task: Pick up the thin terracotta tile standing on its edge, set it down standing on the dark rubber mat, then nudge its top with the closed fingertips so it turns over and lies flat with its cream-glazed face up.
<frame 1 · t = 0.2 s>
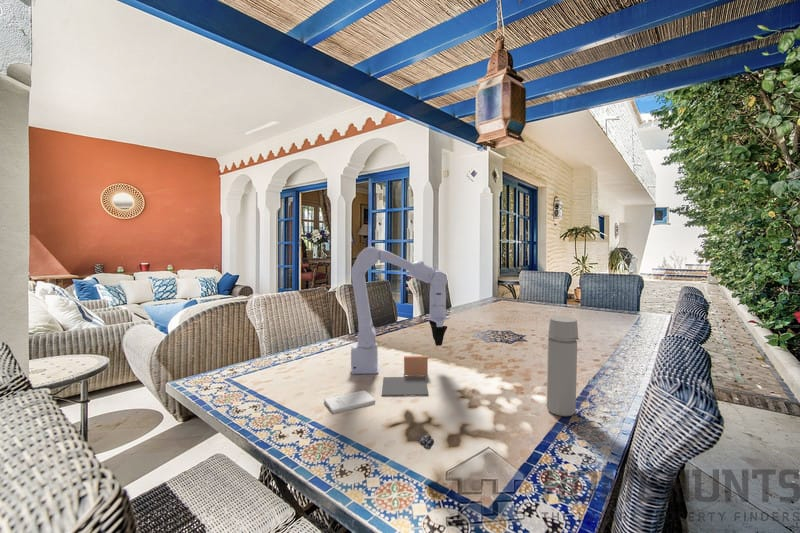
hand: (437, 342, 129), 10 cm above the table, tool pointing down, fingers open, 7 cm apart
external hard drive: (349, 405, 103), on the table
blueberries: (429, 445, 82), on the table
water bottle: (561, 410, 97), on the table
mat: (404, 386, 114), on the table
terracotta tile: (415, 374, 124), on the table
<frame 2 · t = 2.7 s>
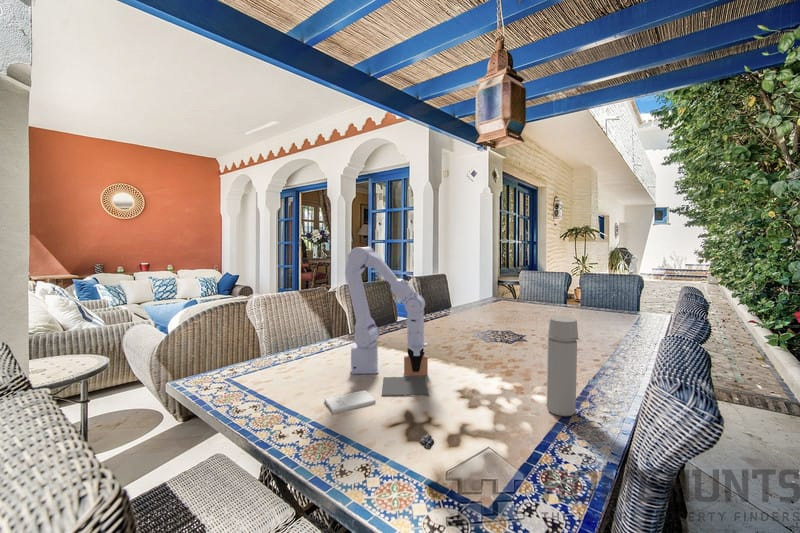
hand: (415, 370, 124), 2 cm above the table, tool pointing down, fingers closed on terracotta tile, 2 cm apart
terracotta tile: (415, 374, 124), on the table, touching gripper
everything else where it was.
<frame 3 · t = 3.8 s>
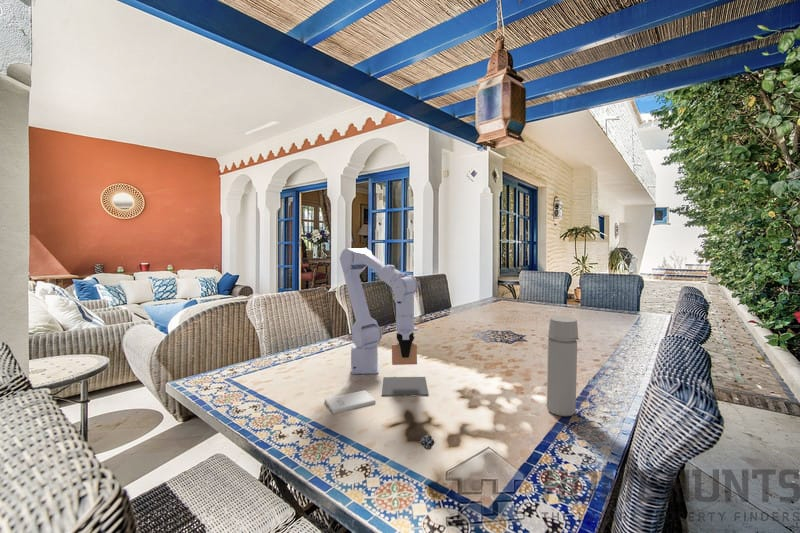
hand: (405, 356, 116), 9 cm above the table, tool pointing down, fingers closed on terracotta tile
terracotta tile: (404, 363, 116), point 6 cm above the table, touching gripper
everything else where it was.
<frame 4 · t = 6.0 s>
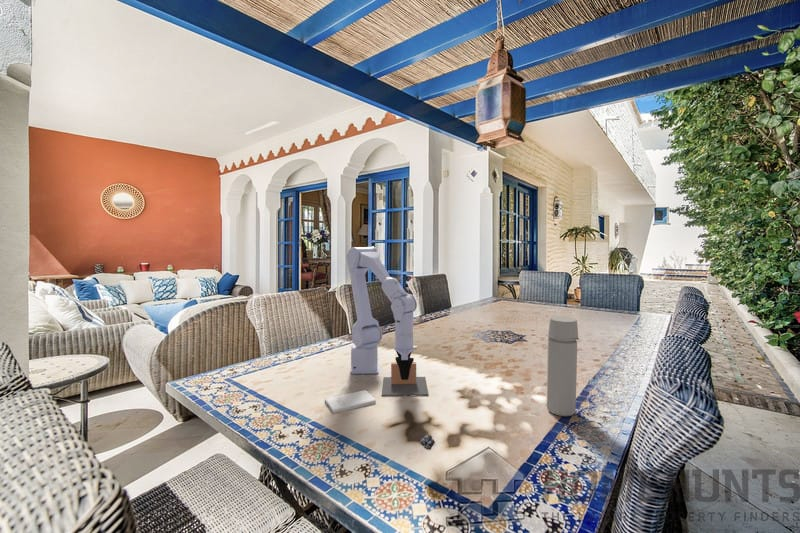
hand: (404, 374, 116), 3 cm above the table, tool pointing down, fingers open, 7 cm apart
terracotta tile: (403, 382, 116), resting on mat
everything else where it was.
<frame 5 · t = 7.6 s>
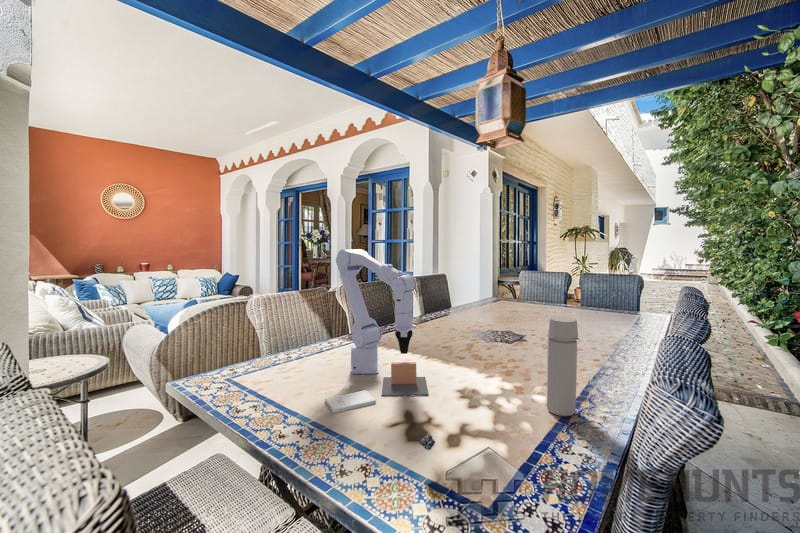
hand: (403, 353, 118), 9 cm above the table, tool pointing down, fingers closed
nothing on the table moved.
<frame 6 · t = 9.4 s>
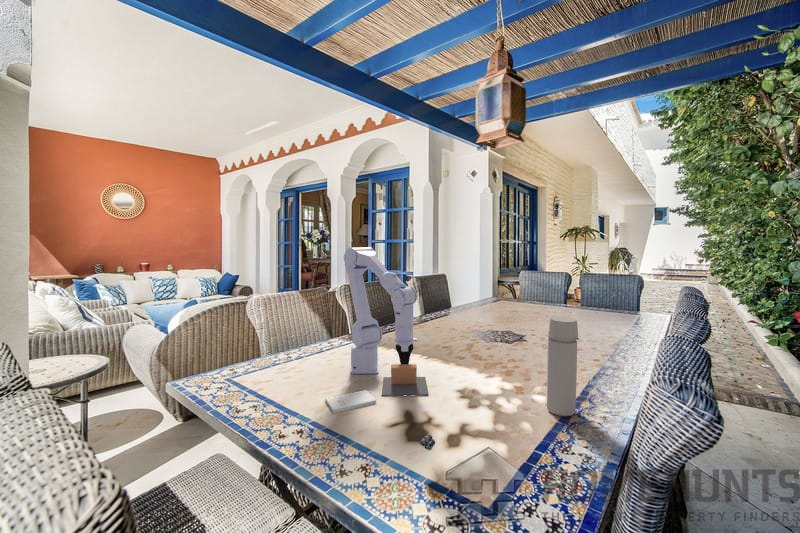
hand: (404, 367, 115), 6 cm above the table, tool pointing down, fingers closed
terracotta tile: (403, 382, 116), point 1 cm above the table, tilted 21°, touching mat
everything else where it was.
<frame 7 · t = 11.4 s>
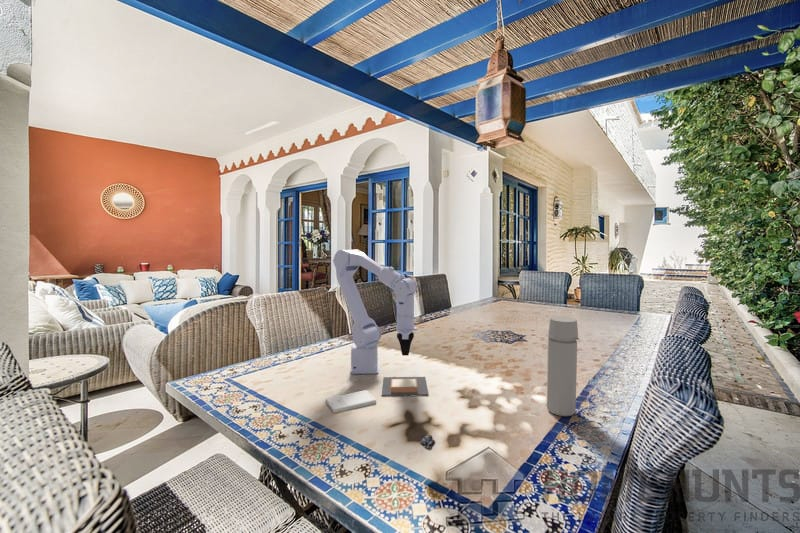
hand: (405, 354, 120), 8 cm above the table, tool pointing down, fingers closed
terracotta tile: (403, 381, 115), point 1 cm above the table, tilted 90°, touching mat
everything else where it was.
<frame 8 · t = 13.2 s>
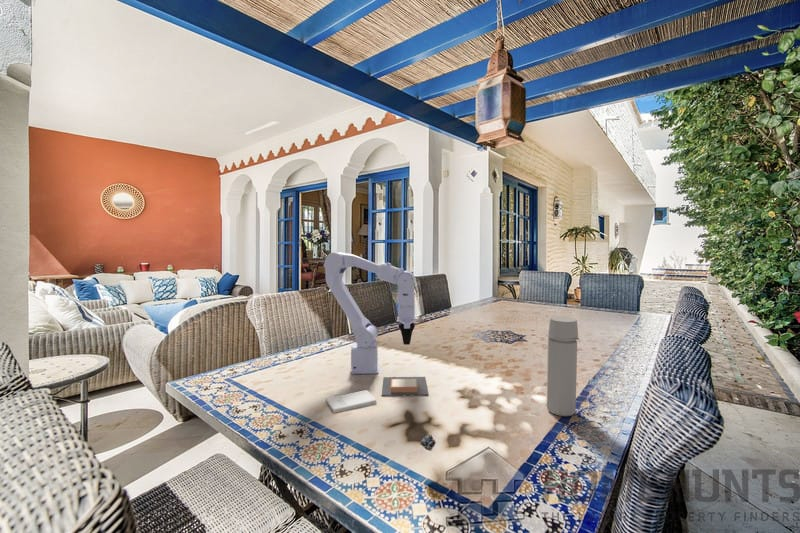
hand: (406, 344, 126), 10 cm above the table, tool pointing down, fingers closed
nothing on the table moved.
at the end: terracotta tile tilted 90°; terracotta tile inside the target area on the mat (1.0 cm from its centre), point 1.2 cm above the mat's base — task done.
